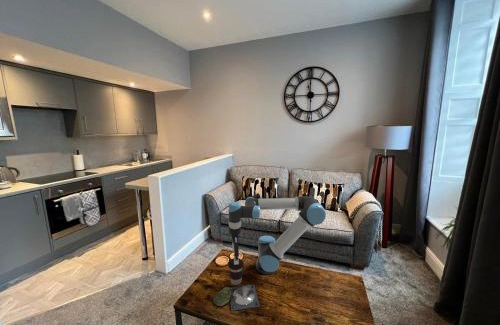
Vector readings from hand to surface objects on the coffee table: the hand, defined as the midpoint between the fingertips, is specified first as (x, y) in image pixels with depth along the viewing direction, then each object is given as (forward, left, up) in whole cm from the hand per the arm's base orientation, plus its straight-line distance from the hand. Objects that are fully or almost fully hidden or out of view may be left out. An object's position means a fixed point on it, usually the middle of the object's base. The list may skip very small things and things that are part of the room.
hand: (235, 257), depth 136 cm
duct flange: (-3, +14, -18) cm, 23 cm away
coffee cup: (0, 0, -18) cm, 18 cm away
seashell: (+9, +13, -17) cm, 24 cm away
